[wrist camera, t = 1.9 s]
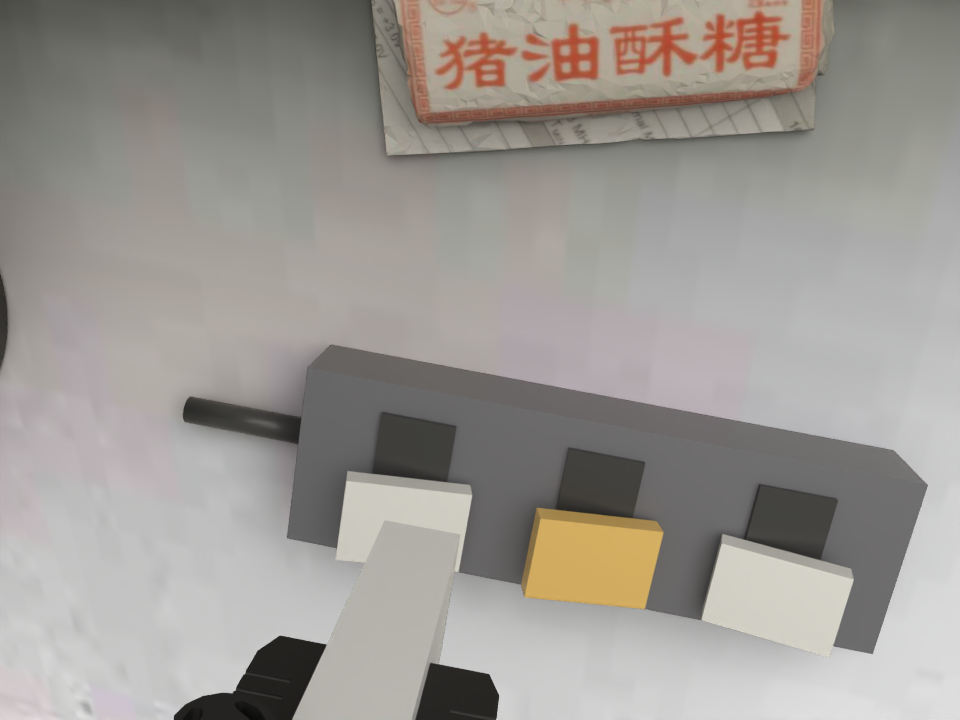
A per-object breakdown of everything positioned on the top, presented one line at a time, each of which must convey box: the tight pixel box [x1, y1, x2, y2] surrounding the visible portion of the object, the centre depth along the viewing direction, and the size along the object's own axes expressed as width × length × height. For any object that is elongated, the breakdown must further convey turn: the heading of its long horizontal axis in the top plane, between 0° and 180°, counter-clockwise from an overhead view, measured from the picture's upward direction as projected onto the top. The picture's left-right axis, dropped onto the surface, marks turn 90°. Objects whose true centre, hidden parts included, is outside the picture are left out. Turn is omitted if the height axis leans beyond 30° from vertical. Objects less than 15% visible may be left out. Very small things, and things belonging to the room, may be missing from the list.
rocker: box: [701, 534, 854, 658], centre depth 38 cm, size 5×4×1 cm
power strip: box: [183, 345, 928, 654], centre depth 41 cm, size 32×8×4 cm, turn 80°
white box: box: [336, 471, 472, 572], centre depth 38 cm, size 5×4×1 cm
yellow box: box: [521, 508, 664, 609], centre depth 38 cm, size 5×4×1 cm
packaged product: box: [371, 0, 834, 156], centre depth 36 cm, size 18×5×10 cm
